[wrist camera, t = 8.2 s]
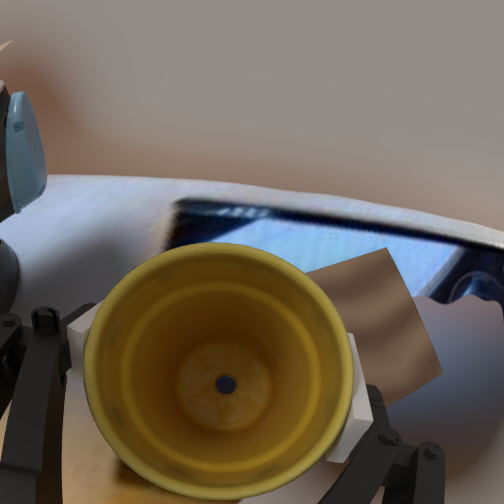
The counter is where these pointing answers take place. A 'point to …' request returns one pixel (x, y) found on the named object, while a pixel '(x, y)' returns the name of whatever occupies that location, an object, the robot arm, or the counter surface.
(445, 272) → the counter surface
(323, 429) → the plant pot
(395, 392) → the walnut board
